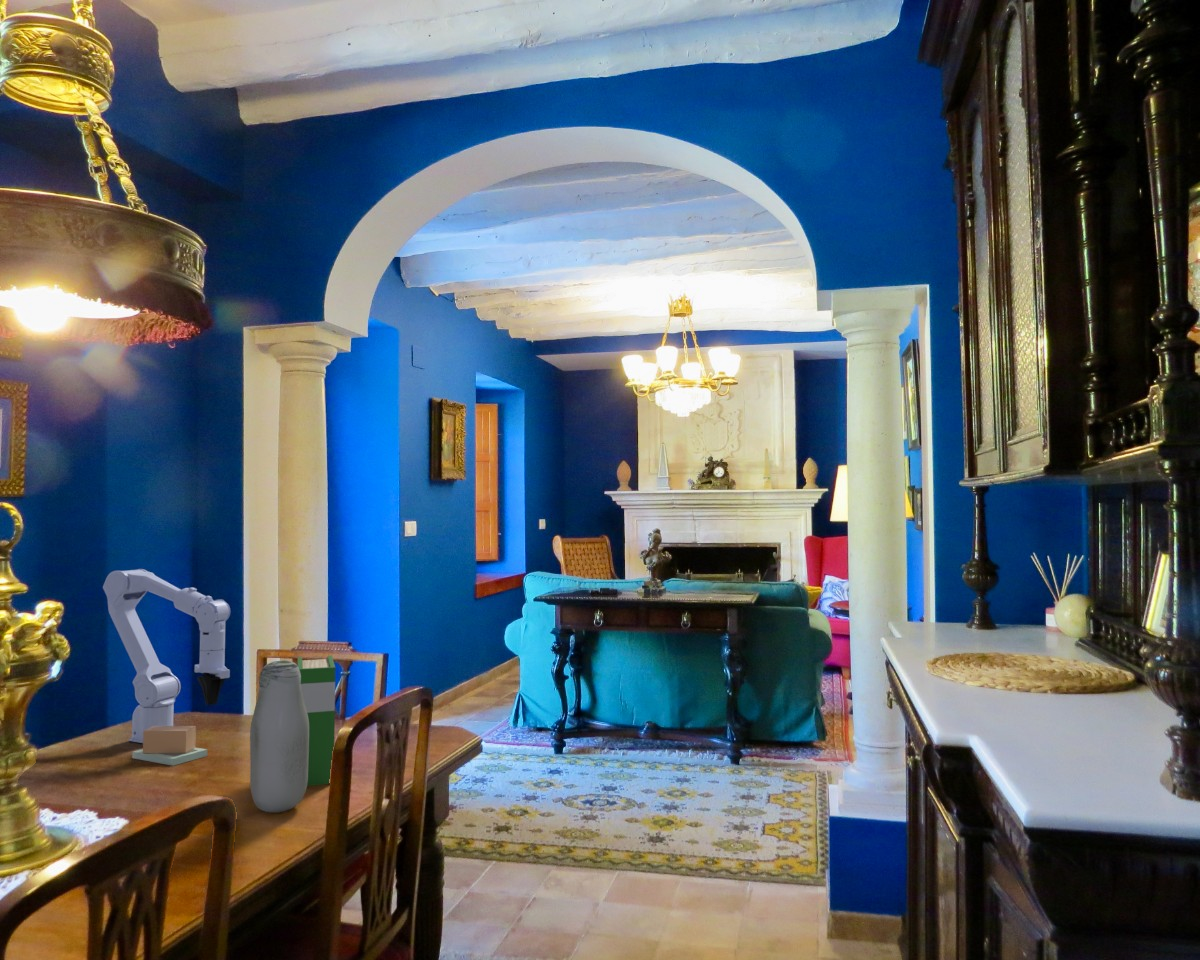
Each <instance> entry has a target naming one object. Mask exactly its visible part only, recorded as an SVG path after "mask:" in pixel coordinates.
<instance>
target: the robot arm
mask: <svg viewBox="0 0 1200 960" xmlns="http://www.w3.org/2000/svg"><path fill="white" fill-rule="evenodd" d="M102 589H103V591H104V593H105V595H106V599H107V607H108V613H109V615H110V618H111V620H112V622H113V624H114V627H115V628H116V630H117V632H118V635H119V637H120V639H121V642H122V644H123V646H124V648H125V651H126V652H127V654H128V656H129V659H130V661H131V663H132V665H133V666H134V669H135V671H136V675H135V676H134V677H133V680H132V685H133V687H134V696H135V700H136V701H137V703H138V704H139V705H137V706H136V707H135V709H134V711H133V713H132V718H131V719H132V720H131V722H132V723H131V724H132V725H131V738H128V741H129V742H133V743H140V744H143V731H145V730H147V729H149V728H151V727H153V726H174V709H175V708H174V705H175V702H176V698H177V697H178V695H179V694H180V692H181V688H182V686H181V681H180V679H179V678H178V677H177V676H176V675H174V673H172V670H171V668H169V667H168V666H166V665H164V664H162V663H161V662H160V660H159V658H158V656H157V654H156V652H155V651H156V650H154V647H153V645H152V643H151V640H150V639H149V637H148V635H147V632H146V630H145V628H144V626H143V623H142V621H141V620H140V617H139V616H138V613H137V611H136V607H137V605H138V604H139V603H140V601H141V600H142V599H143V597H145V595H146V594H147V592H149V593H152V594H154V595H157V596H158V597H161V598H164V599H166V600H169V601H171V602H173V606H174V608H175V609H177V610H179V611H181V612H183V613H185V614H187V615H189V616H191V617H194V618H195V620H196V622H197V623H198V627H199V628H198V630H199V663H197V664H194V673H199V674H200V673H201V674H202V676H196V680H197V682H198V683H199V685H200V687H201V690H202V694H203V698H204V704H205V705H206V706H212V705H213V706H214V705H217V702H218V700H219V695H220V692H221V690H222V686H223V685H224V683H225V681H226V680H227V679H229V678H230V677H231V674H230V673H231V670H230V669H228V667H226V666H225V662H226V661H225V660H226V659H225V657H226V655H225V654H226V653H225V652H226V650H225V649H226V621H227V620H229V618H230V616H231V608H230V607H231V606H230V605H229V603H227V602H226V601H225V600H224V599H222V598H221V599H215V600H214V599H213V597H212V596H210V595H205V594H202V593H201V592H199V591H197V590H198V589H197V588H196V587H194V586H193V587H185V588H182V589H181V588H179V587H177V586H175V585H174V584H171V583H169V582H168V581H167V580H164V579H162V578H161V577H159V576H157V575H155V573H154V572H150V571H148V570H146V569H143V568H138V569H130V570H113V571H111V572H109V574H108V575H107V576H106V578H105V581H104V583H103V586H102Z"/></svg>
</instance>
